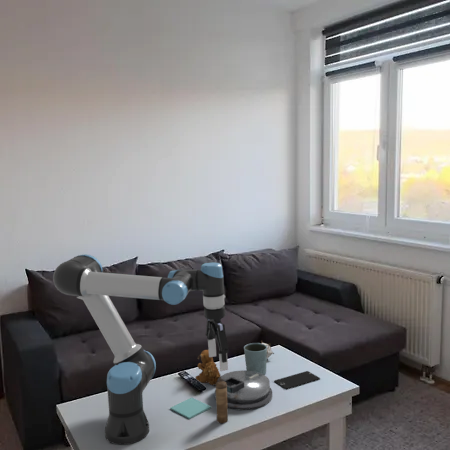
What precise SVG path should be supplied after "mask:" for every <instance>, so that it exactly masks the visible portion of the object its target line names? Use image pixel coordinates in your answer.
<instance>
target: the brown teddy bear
mask: <svg viewBox="0 0 450 450" xmlns="http://www.w3.org/2000/svg"><path fill="white" fill-rule="evenodd" d="M199 358H200V361H201V362H199V363H198V364H197V368H198V369H199V370H201V372H200V373H199V374H198V375H196V376H195V379H197V380H196V381H198V382H200V383H202V384H209V385H211V386H216V383H217V380H218V378H219V377H221V376H222V375H221V373H220V370H219V368H218V367H217V364H216V362H214V358H213V357H209V350H208V349H204V350H202V351H201V353H200V354H199V355H198V357H197V359H198V360H199Z"/></svg>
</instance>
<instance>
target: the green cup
mask: <svg viewBox="0 0 450 450" xmlns="http://www.w3.org/2000/svg"><path fill="white" fill-rule="evenodd" d="M261 343H262V342H261ZM261 343H260V342H252V343H251V342H250V343H248V344H246V345H244V346H243V350H244V359H245V361H244V362H245V366H246V368H245V369H246V370H245V371H254V372H258V373H261V374H263V375H265V376H266V374H267V363H268V362H267V361H268V359H267V357H266V356H267V346H266V345H264V344H261Z"/></svg>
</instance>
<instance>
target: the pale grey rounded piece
mask: <svg viewBox="0 0 450 450" xmlns="http://www.w3.org/2000/svg"><path fill="white" fill-rule="evenodd" d="M260 342H261V344H264V345H266V346H267V356H266V357H267V360H268V359H269V358H270V357H271V356H272V355H274V354H275V352H273V350H272V347H271V343H270V342H269V343H265V342H263V340H261V341H260Z"/></svg>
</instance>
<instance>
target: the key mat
mask: <svg viewBox="0 0 450 450" xmlns="http://www.w3.org/2000/svg"><path fill="white" fill-rule="evenodd" d="M169 408H170V409H169V410H171V411H174V412H175V413H177V414H179V415H181V416H182V417H184V418H187V419H188V420H190V419H193V418H194V417H197V416H198V415H201V414H202V413H204V412H206V411H208V410H210V409H212V406H211V405H209V404H207V403H204V402H203V401H201V400H198V399H196V398H194V397H190V398H188V399H185V400H183V401H181V402H180V403H177V404H175V405H173V406H171V407H169Z"/></svg>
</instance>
